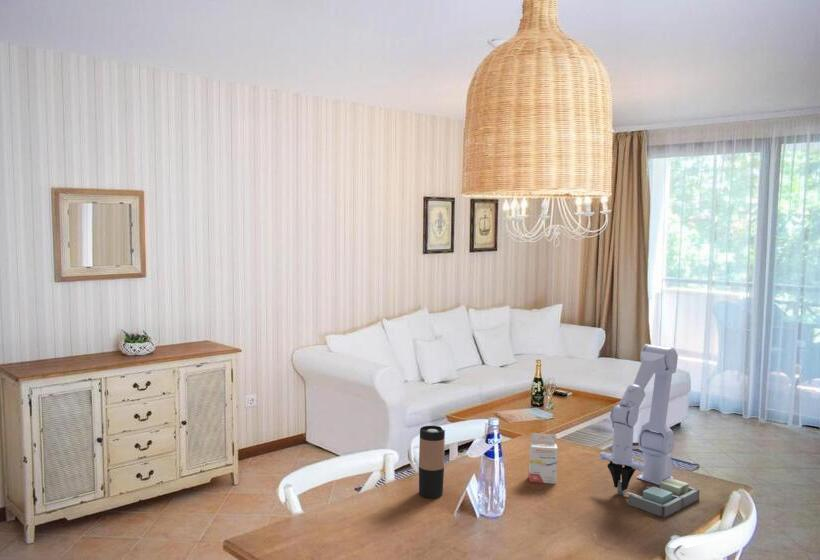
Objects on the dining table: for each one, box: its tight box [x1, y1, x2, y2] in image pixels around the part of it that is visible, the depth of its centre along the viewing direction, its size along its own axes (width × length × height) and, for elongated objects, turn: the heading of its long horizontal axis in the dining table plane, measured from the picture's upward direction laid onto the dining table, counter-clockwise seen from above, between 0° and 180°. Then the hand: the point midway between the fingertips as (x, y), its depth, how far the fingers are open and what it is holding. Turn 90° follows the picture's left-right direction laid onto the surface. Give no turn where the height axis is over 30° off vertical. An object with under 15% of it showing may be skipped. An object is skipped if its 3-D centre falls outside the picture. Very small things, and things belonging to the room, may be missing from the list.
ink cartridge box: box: [528, 432, 559, 485], centre depth 213 cm, size 9×5×15 cm, turn 84°
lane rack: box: [628, 479, 700, 518], centre depth 198 cm, size 21×11×3 cm, turn 131°
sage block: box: [659, 478, 690, 496], centre depth 201 cm, size 6×6×5 cm
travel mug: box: [418, 425, 446, 499], centre depth 200 cm, size 8×8×20 cm
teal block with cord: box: [616, 479, 673, 505], centre depth 199 cm, size 6×16×4 cm, turn 41°
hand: (620, 487), depth 204 cm, fingers closed on teal block with cord, 2 cm apart
